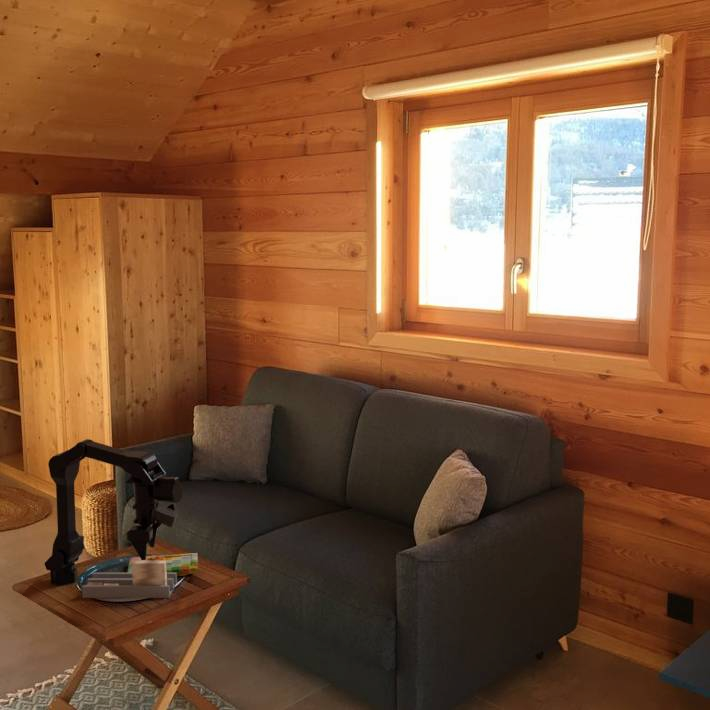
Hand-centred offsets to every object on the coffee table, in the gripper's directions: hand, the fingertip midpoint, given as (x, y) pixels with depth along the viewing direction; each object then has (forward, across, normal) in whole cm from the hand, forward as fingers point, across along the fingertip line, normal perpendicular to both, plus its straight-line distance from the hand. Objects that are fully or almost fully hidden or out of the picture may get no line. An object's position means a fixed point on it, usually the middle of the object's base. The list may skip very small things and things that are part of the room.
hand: (148, 553), depth 243 cm
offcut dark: (+12, 0, +16) cm, 19 cm away
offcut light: (+12, 0, +11) cm, 16 cm away
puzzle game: (+14, +16, 0) cm, 21 cm away
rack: (+13, +2, +6) cm, 14 cm away
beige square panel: (+12, 0, 0) cm, 12 cm away
